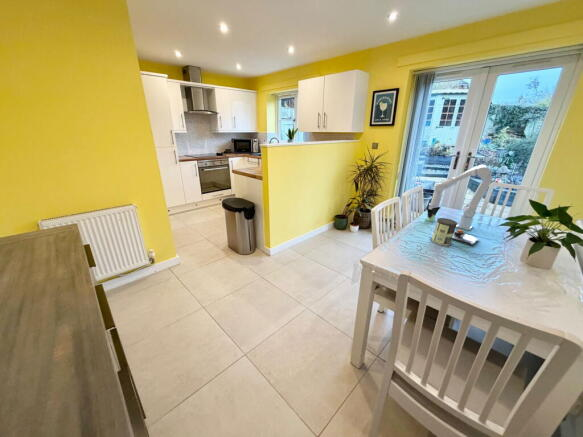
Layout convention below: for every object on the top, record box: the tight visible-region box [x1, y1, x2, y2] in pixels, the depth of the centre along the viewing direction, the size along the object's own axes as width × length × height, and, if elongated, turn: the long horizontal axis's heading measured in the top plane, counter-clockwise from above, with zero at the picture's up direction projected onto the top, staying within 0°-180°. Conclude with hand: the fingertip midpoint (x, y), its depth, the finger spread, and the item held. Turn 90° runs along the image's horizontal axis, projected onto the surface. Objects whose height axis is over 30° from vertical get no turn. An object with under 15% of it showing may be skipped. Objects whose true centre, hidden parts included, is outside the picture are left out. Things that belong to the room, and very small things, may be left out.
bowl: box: [426, 214, 437, 223], centre depth 173 cm, size 5×5×4 cm
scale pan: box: [461, 234, 476, 241], centre depth 141 cm, size 8×8×1 cm
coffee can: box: [431, 217, 458, 246], centre depth 139 cm, size 10×10×14 cm
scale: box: [451, 229, 479, 247], centre depth 145 cm, size 13×13×3 cm
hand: (431, 216), depth 173 cm, fingers open, 7 cm apart
